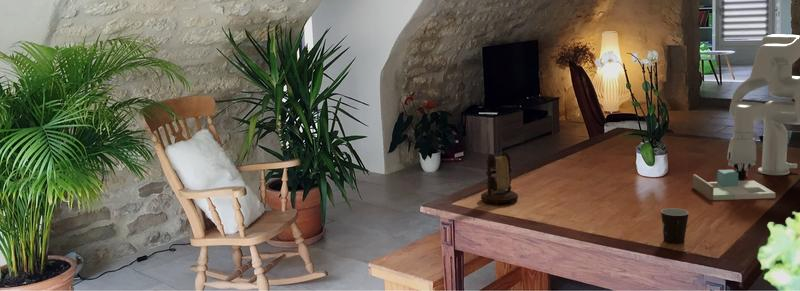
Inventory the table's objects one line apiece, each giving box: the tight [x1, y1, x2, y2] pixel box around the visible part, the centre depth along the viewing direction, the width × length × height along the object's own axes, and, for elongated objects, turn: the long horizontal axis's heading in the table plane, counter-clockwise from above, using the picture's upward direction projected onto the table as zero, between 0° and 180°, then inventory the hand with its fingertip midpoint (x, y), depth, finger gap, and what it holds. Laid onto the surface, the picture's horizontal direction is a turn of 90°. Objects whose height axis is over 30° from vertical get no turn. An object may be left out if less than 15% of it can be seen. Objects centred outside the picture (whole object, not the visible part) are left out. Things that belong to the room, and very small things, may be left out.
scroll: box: [480, 151, 519, 206], centre depth 318 cm, size 15×15×20 cm
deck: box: [692, 173, 777, 201], centre depth 319 cm, size 25×20×6 cm
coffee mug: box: [660, 207, 690, 245], centre depth 262 cm, size 12×9×10 cm
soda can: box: [729, 164, 749, 181], centre depth 335 cm, size 7×7×13 cm
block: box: [716, 169, 738, 187], centre depth 323 cm, size 6×6×6 cm
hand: (741, 179), depth 323 cm, fingers closed
